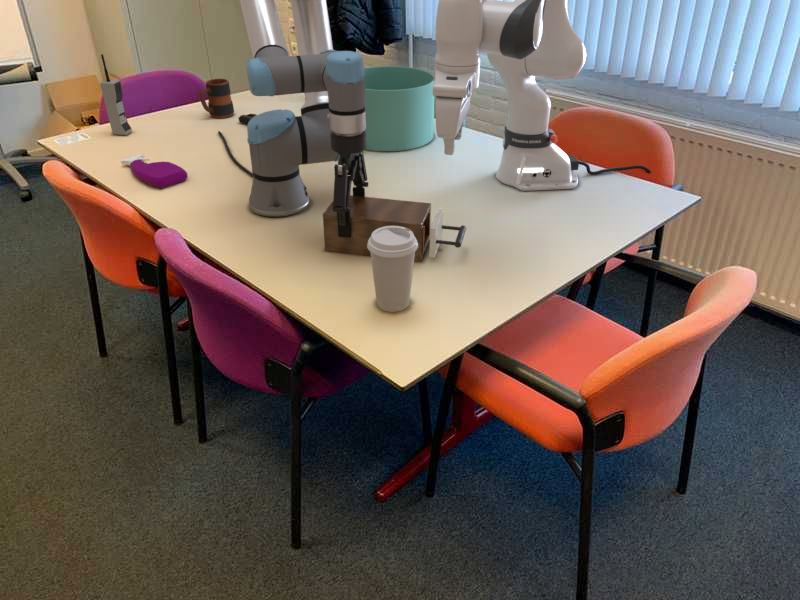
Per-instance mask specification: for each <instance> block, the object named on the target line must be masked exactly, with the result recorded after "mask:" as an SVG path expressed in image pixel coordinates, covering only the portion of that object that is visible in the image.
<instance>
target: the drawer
mask: <svg viewBox="0 0 800 600" xmlns="http://www.w3.org/2000/svg"><path fill="white" fill-rule="evenodd" d="M431 212H432V211H431ZM431 212H430V211H429V212H428V215H427V217H426V219H425V221H424V224H423V226H422V253H423V252H424V250H425V247H426V245H427V242H428V240H429V237H430V240H429V242H428V243H429V251H428V252H429V255H428V257H429V258H433V259H435V257H436V255H437V253H438V250H439V247H440V245H447V246H448V245H449V246H454V247H456V249H460V248H461V247H462V244H463V241H464V238H465V234H466V231H467V227H466V225H460V226H454V225H444V209H440V208H439V209H437V211H436V213H435V216H434V219H433V221H432V224H431V218H432V217H431V216H432V215H431V214H432V213H431ZM443 230H449V231H450V230H451V231H458V232H457V236H456V238H455V241H451V240H443ZM427 246H428V245H427ZM426 248H427V247H426ZM425 251H426V250H425ZM424 253H425V252H424Z"/></svg>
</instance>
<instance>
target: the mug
mask: <svg viewBox="0 0 800 600" xmlns="http://www.w3.org/2000/svg"><path fill="white" fill-rule="evenodd" d="M205 94H206V95H207V101H208V102H206V99H205ZM231 94H232V91H231V86H230V81H229V80H228V79H226V78H213V79H209V80H207V81H206V83H205V88H203V89H201V90H200V92H199V100H200V103H201V105H202V108H203V110H205V112H206V113H209V115H210V117H212V118H215V119H226V118H229V117H232V116H233V115H234V113H235V108H234V102H233V100H232V96H231Z"/></svg>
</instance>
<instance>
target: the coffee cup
mask: <svg viewBox="0 0 800 600" xmlns="http://www.w3.org/2000/svg"><path fill="white" fill-rule="evenodd" d="M367 248H368V250H369V251H370V254H371V256H370V260H371V268H372V277H373V285H374V292H375V301H376V304H377V307H378V308H379V309H380V310H383V311H385V312H388V313H389V312H390V313H396V312H401V311H404V310H406V309H407V308H408V307H409V305H410V301H411V293H412V283H413V282H412V281H413V273H414V266H415V261H414V257H415V251H416V250H417V248H418V242H417V240H416V238H415V236H414V234H413V232H412V231H411V230H409V229H407V228H405V227H401V226H385V227H381V228H378V229H376V230H375V231H373V233H372V234H371V237H370V238H369V240H368V243H367Z"/></svg>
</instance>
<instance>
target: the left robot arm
mask: <svg viewBox="0 0 800 600" xmlns="http://www.w3.org/2000/svg"><path fill="white" fill-rule="evenodd" d="M288 1H289V2H290V5H291V12H292V19H293V26H294V32H295V33H294V34H295V40H296V47H297V52H298V55H290V54H289V50H288V46H287V43H286V39H285V35H284V31H283V28H282V24H281V21H280V17H279V13H278V8H277V5H276V2H275V0H239V2H240V7H241V11H242V16H243V20H244V24H245V29H246V33H247V38H248V42H249V47H250V51H251V55H252V58H249V59H248V60H247V61H246V65H245V66H246V67H245V68H246V75H247V81H248V82H247V83H248V88H249V92H250V93H251V94H252V95H253V96H255V97H275V96H285V95H295V94H304V100H305V101H304V104H302V106H301V108H300V115H299V116H298V115H297V116H296V114H295V113H294V112H293V111H292V110H291V109H282V108H281V109H273V110H268V111H263V112H261V113H259V114H256V116H255V117H253V118H252V119H251V120H250V121H249V122H248V124H246V125H247V126H246V134H247V139H246V141H247V144H248V145H249V146H248V147H249V154H250V163H251V171H250V170H249V169H247V168H246V167H245V166H243V165H242V164H241V163H240V162H239V161H238V160H237V159H236V158H235V156H234V155H233V154H232V152H231V150H230V147H229V145H228V142H227V140H226V138H225V136H224V135H223V134H222V132H221V131H220V130H218V131H217V133H218V135H219V137H220V138H221V140H222V141H223V143H224V146H225V149H226V151H227V153H228V156H229V157H230V158H231V160H232V161H233V162H234V164H236V165H237V166H238V167H239V168H240V169H241V170H243V171H244V172H246V173H247V175H249V176H250V177H252V183H251V189H250V195H249V197H248V205H249V209H250V211H252V213H254V214H256V215H258V216H263V217H268V218H283V217H289V216H293V215H296V214H299V213H301V212H303V211H305V210H306V209H307V208H308V207H309V206H310V196H309V193H308V188H307V187H306V185H305V183H304V181H303V179H302V177H301V173H300V166H301V165H309V164H319V163H329V162H335V163H336V164H334V165H333V170H334V181H333V182H334V184H333V200H332V202H333V207H332V210H333V212H337V220H338V237H346V238H351V222H350V210H349V209H348V207H349V199H350V196H351V191H352V196H361V197H366V188H368V187H369V182H368V174H367V167H366V160H365V155H364V151H366V150H367V149H366V132H365V131H364V130H365V129H366V112H365V83H364V76H365V69H364V68H365V65H364V64H365V63H364V57H363V55H362V54H361V53H359V52H358V51H357V52H355V51H353V50H335V49H334V46H333V40H332V39H333V38H332V31H331V26H330V25H331V24H330V17H329V12H328V11H329V10H328V5H327V0H288ZM352 183H353V187H352Z"/></svg>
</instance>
